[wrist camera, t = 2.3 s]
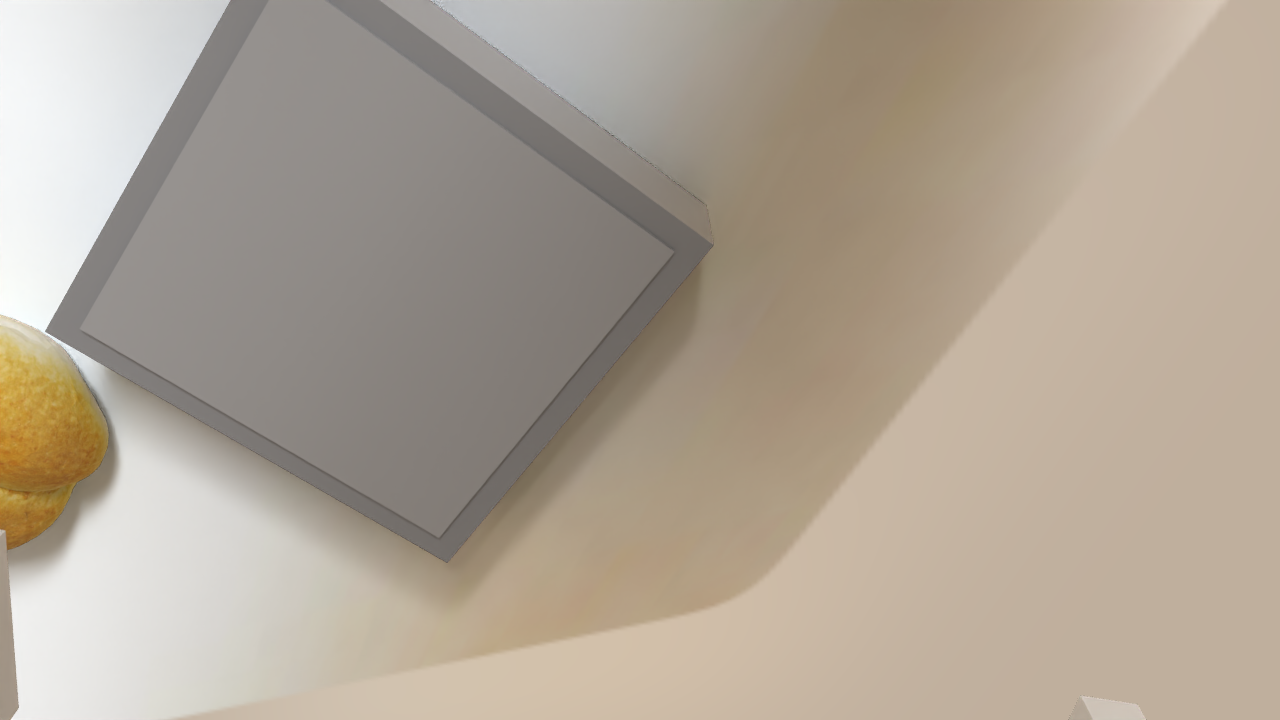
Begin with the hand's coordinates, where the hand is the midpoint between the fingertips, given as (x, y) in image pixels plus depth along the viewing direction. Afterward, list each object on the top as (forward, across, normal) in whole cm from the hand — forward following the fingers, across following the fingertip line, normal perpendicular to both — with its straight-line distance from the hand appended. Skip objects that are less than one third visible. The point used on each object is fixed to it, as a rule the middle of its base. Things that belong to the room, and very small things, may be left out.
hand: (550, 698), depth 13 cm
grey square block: (+22, -6, -3) cm, 23 cm away
